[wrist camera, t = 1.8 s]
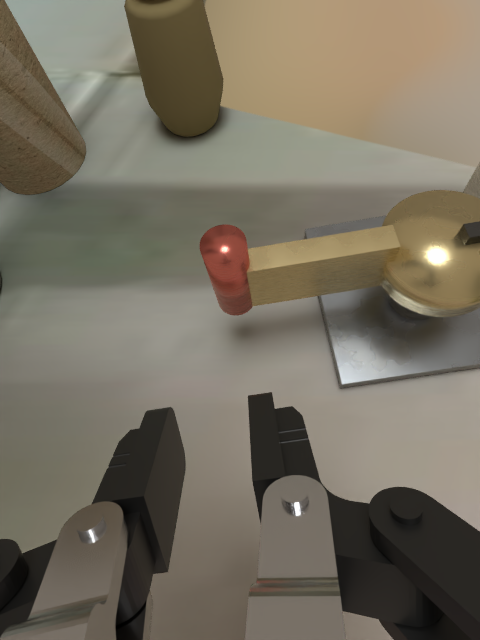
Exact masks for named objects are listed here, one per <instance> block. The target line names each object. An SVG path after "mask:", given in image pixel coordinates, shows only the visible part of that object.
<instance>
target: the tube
mask: <svg viewBox="0 0 480 640" xmlns="http://www.w3.org/2000/svg"><path fill="white" fill-rule="evenodd" d="M85 154H86V146H85V142H84V140H83V138H82V137H81V135H80V133H79V131H78V130H77V128H76V126H75V124H74V122H73V121H72V119H71V117H70V115H69V114H68V112H67V110H66V108H65V107H64V105H63V103H62V101H61V99H60V98H59V96H58V94H57V92H56V91H55V89H54V87H53V85H52V84H51V82H50V80H49V78H48V76H47V75H46V73H45V71H44V69H43V68H42V66H41V64H40V62H39V61H38V59H37V57H36V55H35V53H34V52H33V50H32V48H31V46H30V45H29V43H28V41H27V39H26V38H25V36H24V34H23V32H22V30H21V29H20V27H19V25H18V23H17V22H16V20H15V18H14V16H13V15H12V13H11V11H10V9H9V7H8V6H7V4H6V2H5V0H0V182H1V183H2V184H3V185H4V186H5V187H6V188H7V189H8V190H10V191H12V192H15V193H18V194H25V195H30V194H39V193H43V192H46V191H50V190H52V189H54V188H56V187H58V186H60V185H62V184H63V183H65V182H66V181H67V180H69V179H70V178H71V177H72V176H73V175H74V174H75V173H76V172H77V171H78V170H79V168H80V167H81V165H82V163H83V161H84V158H85Z"/></svg>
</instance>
